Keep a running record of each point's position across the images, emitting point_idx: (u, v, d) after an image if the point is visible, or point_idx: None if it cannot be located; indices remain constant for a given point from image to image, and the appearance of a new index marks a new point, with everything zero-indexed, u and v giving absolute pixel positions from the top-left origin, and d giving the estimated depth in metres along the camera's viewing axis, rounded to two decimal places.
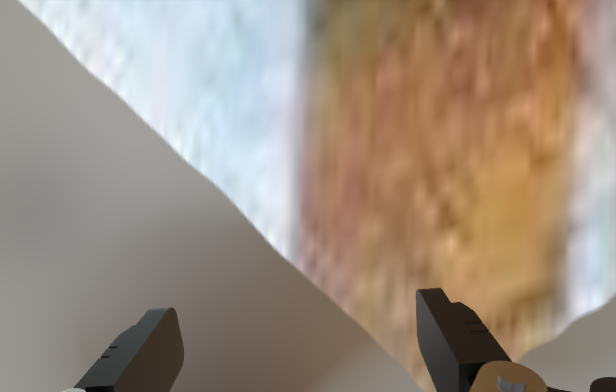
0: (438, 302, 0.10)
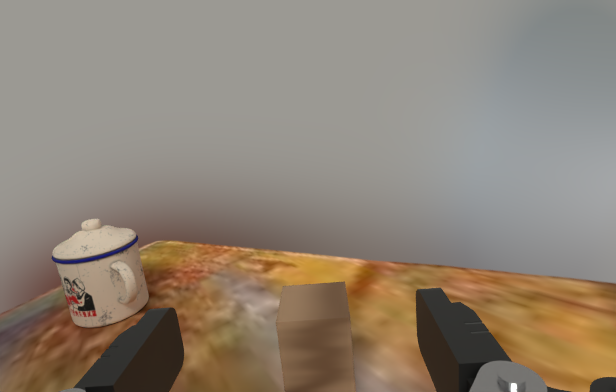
0: (438, 302, 0.10)
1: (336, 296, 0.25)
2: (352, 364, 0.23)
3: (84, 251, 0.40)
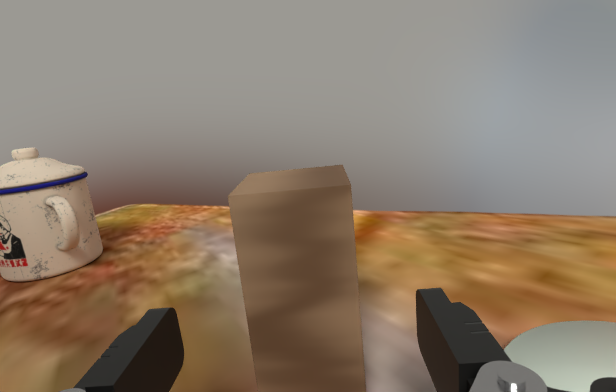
0: (438, 302, 0.10)
1: (329, 173, 0.16)
2: (355, 270, 0.14)
3: (9, 180, 0.31)
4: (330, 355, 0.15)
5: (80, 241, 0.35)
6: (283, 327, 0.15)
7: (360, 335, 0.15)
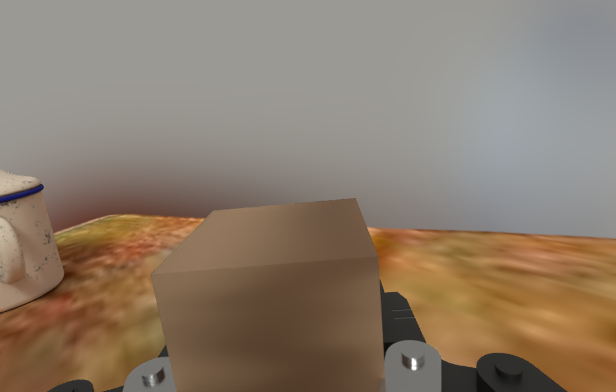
0: None
1: (336, 219, 0.10)
2: None
3: None
4: None
5: (31, 270, 0.29)
6: None
7: None
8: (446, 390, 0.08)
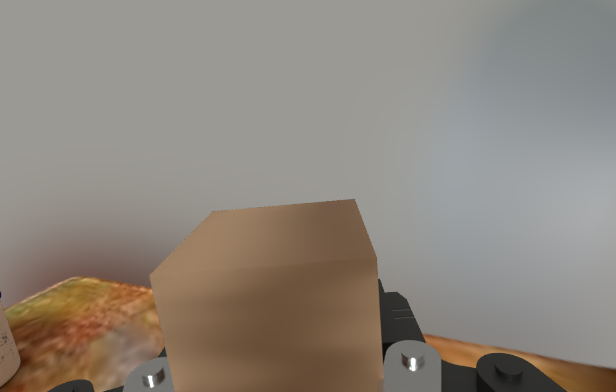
0: None
1: (335, 220, 0.10)
2: None
3: None
4: None
5: None
6: None
7: None
8: (446, 390, 0.08)
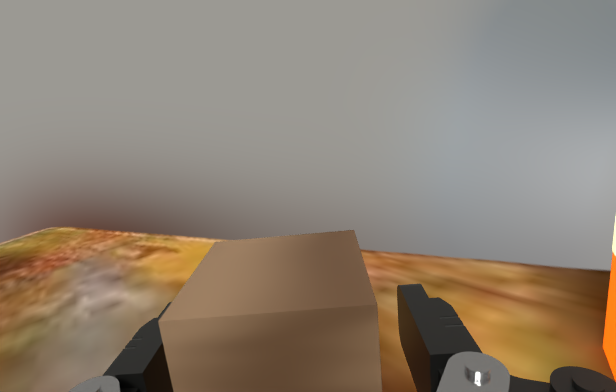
0: (416, 297, 0.11)
1: (335, 256, 0.10)
2: None
3: None
4: None
5: None
6: None
7: None
8: None
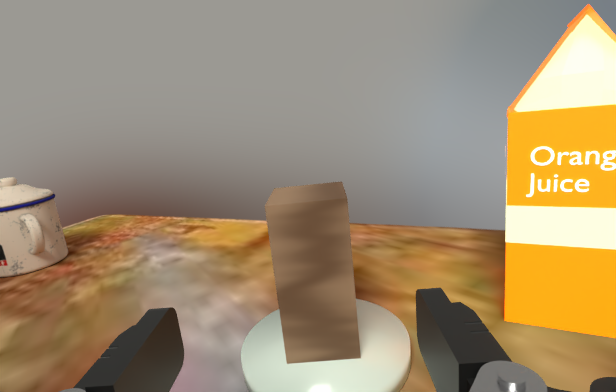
0: (438, 302, 0.10)
1: (332, 189, 0.22)
2: (350, 255, 0.21)
3: None
4: (334, 315, 0.22)
5: (47, 247, 0.47)
6: (301, 296, 0.21)
7: (355, 301, 0.21)
8: None
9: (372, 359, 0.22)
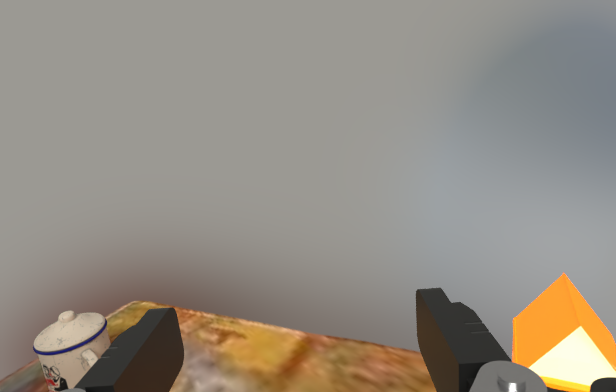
0: (438, 302, 0.10)
1: None
2: None
3: (59, 344, 0.49)
4: None
5: None
6: None
7: None
8: None
9: None
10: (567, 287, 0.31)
